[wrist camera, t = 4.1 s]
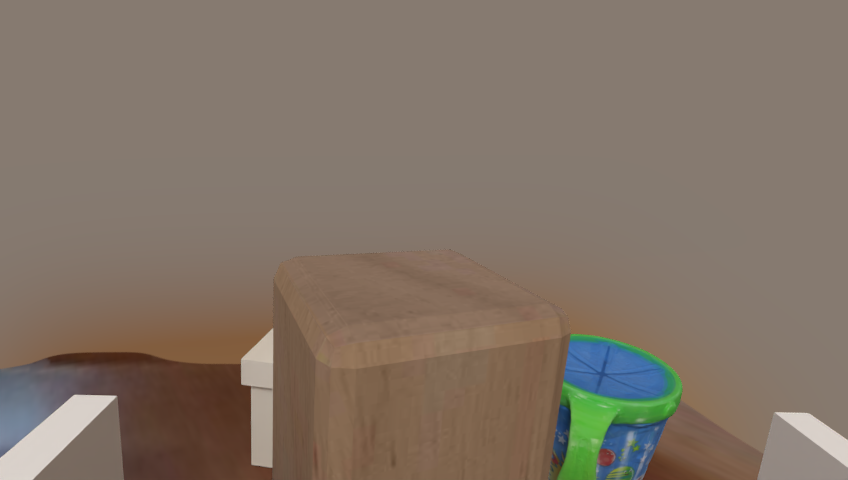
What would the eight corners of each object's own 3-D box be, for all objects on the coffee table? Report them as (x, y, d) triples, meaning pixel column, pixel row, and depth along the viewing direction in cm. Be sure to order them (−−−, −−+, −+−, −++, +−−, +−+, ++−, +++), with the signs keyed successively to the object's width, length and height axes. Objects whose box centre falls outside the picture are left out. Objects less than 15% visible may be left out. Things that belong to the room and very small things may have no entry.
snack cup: (637, 592, 30) (669, 444, 27) (479, 511, 35) (494, 381, 33) (668, 456, 43) (692, 348, 40) (549, 412, 48) (564, 314, 46)
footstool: (242, 468, 37) (241, 359, 35) (305, 377, 51) (307, 294, 49) (426, 495, 36) (436, 383, 34) (440, 394, 50) (448, 310, 48)
